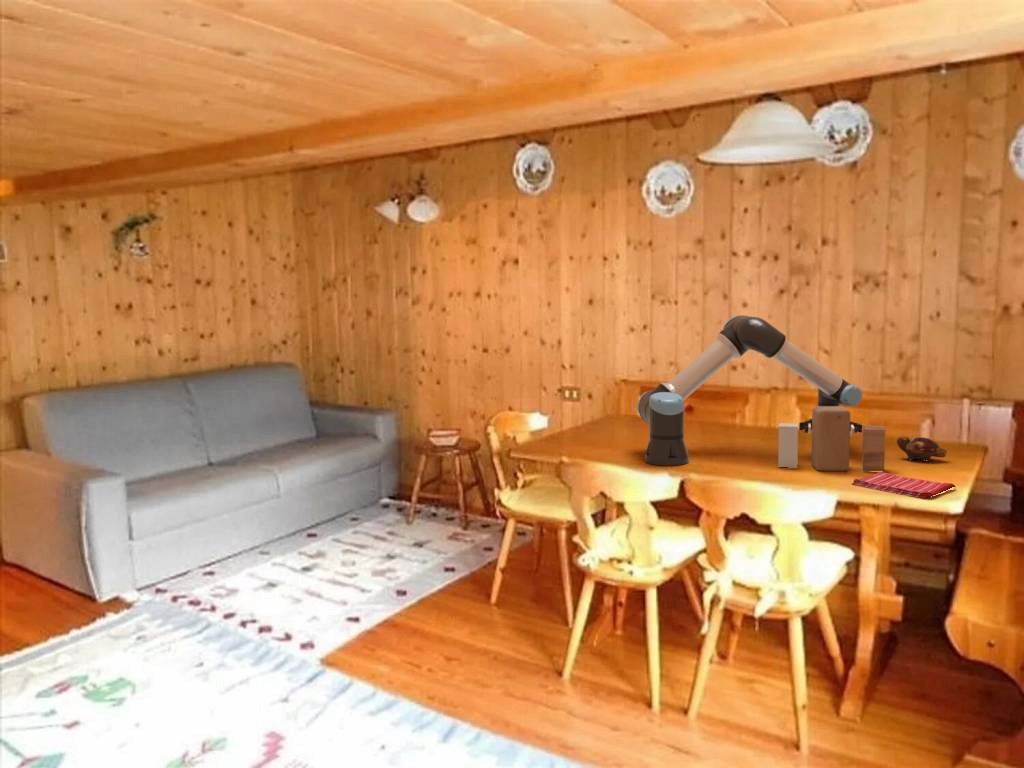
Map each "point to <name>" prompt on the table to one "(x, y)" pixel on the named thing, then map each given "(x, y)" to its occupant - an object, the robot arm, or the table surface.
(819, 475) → the table surface
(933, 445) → the decorative turtle
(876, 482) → the dish towel
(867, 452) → the walnut block
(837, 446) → the wooden block
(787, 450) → the grey painted block
